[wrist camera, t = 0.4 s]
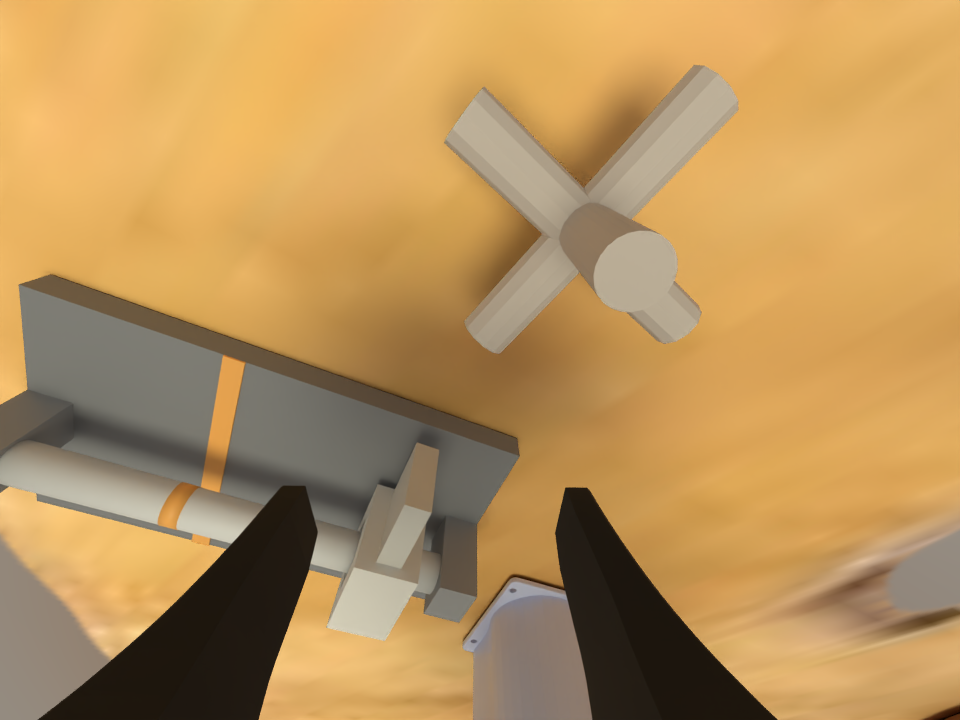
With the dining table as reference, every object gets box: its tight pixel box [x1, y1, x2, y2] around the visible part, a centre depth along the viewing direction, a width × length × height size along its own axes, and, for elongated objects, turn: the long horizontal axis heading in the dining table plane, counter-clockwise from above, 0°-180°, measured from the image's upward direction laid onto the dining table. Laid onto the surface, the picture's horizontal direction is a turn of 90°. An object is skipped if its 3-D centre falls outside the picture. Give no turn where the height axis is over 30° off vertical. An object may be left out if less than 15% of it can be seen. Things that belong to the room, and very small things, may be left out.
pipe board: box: [0, 275, 520, 622], centre depth 22 cm, size 14×24×6 cm, turn 66°
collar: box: [326, 443, 439, 641], centre depth 21 cm, size 9×3×5 cm, turn 156°
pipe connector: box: [444, 65, 738, 354], centre depth 13 cm, size 10×10×10 cm
